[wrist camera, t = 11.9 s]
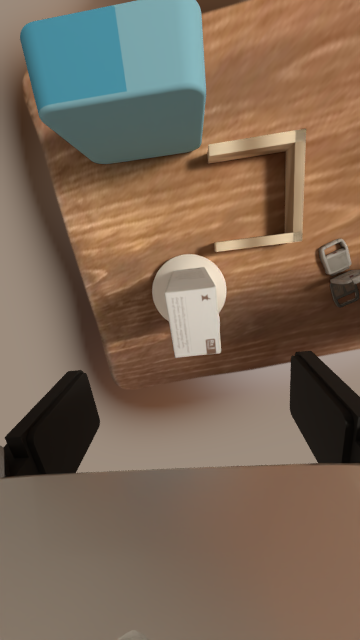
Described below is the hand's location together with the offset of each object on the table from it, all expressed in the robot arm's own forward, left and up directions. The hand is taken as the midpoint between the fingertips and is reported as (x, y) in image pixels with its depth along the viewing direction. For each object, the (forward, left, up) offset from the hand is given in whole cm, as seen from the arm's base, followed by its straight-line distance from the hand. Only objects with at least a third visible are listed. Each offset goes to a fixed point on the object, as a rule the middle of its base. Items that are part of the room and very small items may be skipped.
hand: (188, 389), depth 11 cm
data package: (+3, -18, -22) cm, 29 cm away
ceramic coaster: (0, 0, -22) cm, 22 cm away
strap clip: (-19, 0, -22) cm, 29 cm away
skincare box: (0, 0, -21) cm, 21 cm away
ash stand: (-8, -10, -22) cm, 25 cm away
